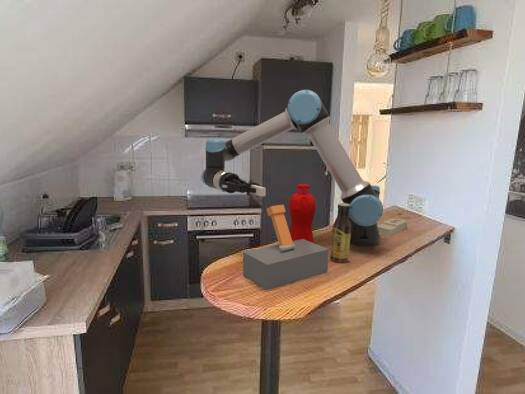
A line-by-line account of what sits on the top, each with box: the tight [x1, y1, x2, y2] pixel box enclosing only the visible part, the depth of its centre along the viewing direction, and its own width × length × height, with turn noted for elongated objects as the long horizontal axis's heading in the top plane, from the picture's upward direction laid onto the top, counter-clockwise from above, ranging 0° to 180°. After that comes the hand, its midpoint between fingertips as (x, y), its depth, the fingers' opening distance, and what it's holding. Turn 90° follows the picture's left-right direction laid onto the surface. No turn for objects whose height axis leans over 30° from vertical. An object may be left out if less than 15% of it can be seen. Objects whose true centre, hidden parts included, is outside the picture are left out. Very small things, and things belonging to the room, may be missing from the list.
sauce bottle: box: [329, 202, 351, 263], centre depth 119 cm, size 6×6×20 cm
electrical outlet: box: [377, 217, 408, 237], centre depth 159 cm, size 7×4×18 cm
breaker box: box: [242, 239, 330, 291], centre depth 107 cm, size 24×12×8 cm, turn 126°
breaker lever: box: [266, 204, 295, 252], centre depth 108 cm, size 5×3×14 cm, turn 126°
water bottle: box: [288, 183, 317, 244], centre depth 126 cm, size 9×11×25 cm
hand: (263, 192), depth 114 cm, fingers closed
